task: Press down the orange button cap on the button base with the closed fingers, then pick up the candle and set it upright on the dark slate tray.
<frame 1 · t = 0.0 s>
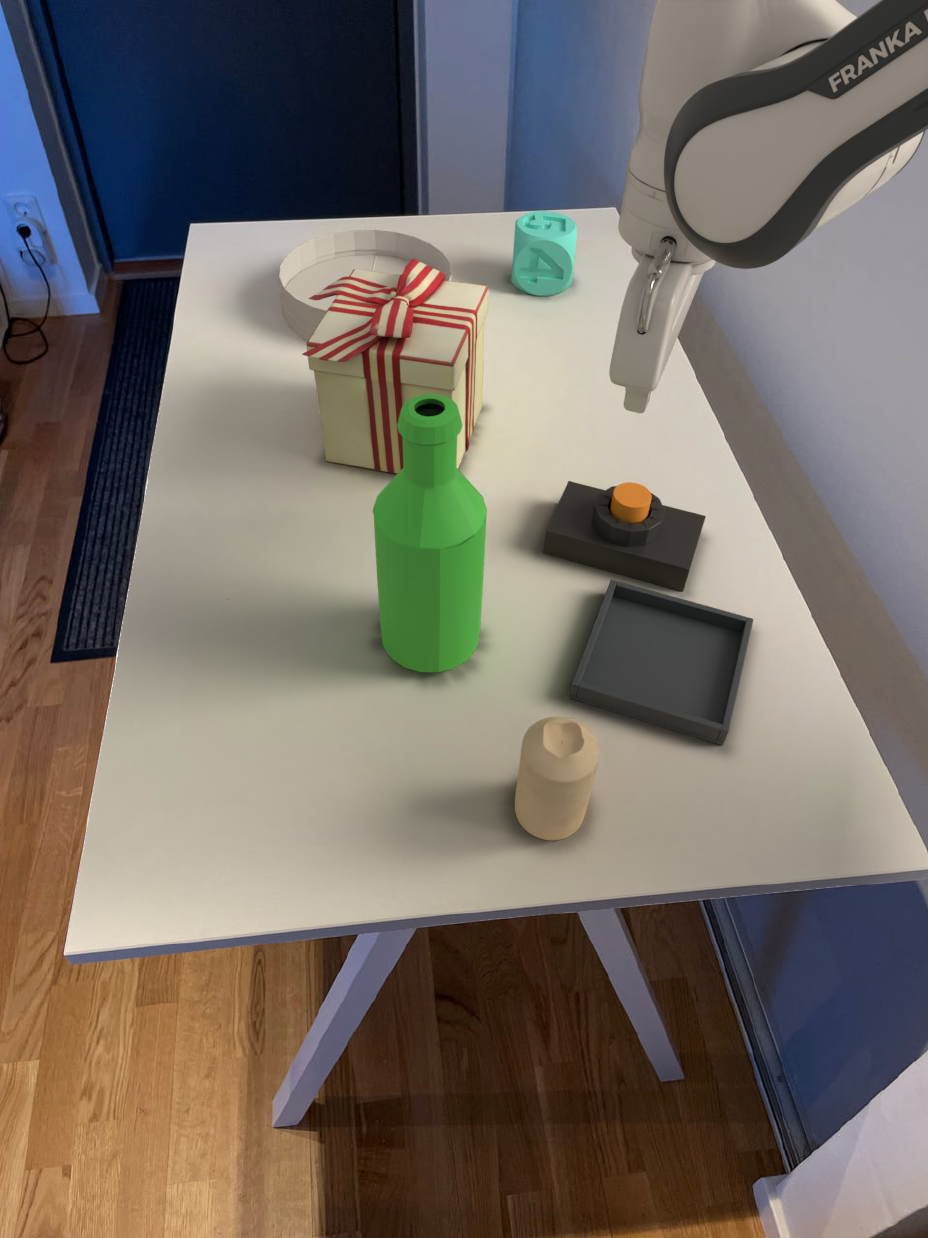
hand: (648, 375, 77), 19 cm above the table, tool pointing down, fingers open, 8 cm apart
dish: (367, 307, 120), on the table
gift box: (392, 437, 102), on the table
soap tray: (661, 664, 81), on the table
bottle: (430, 641, 83), on the table
button base: (621, 545, 91), on the table
decorative dice: (540, 282, 126), on the table
orange button cap: (630, 502, 87), point 6 cm above the table, slide at 0.1 cm
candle: (549, 810, 71), on the table
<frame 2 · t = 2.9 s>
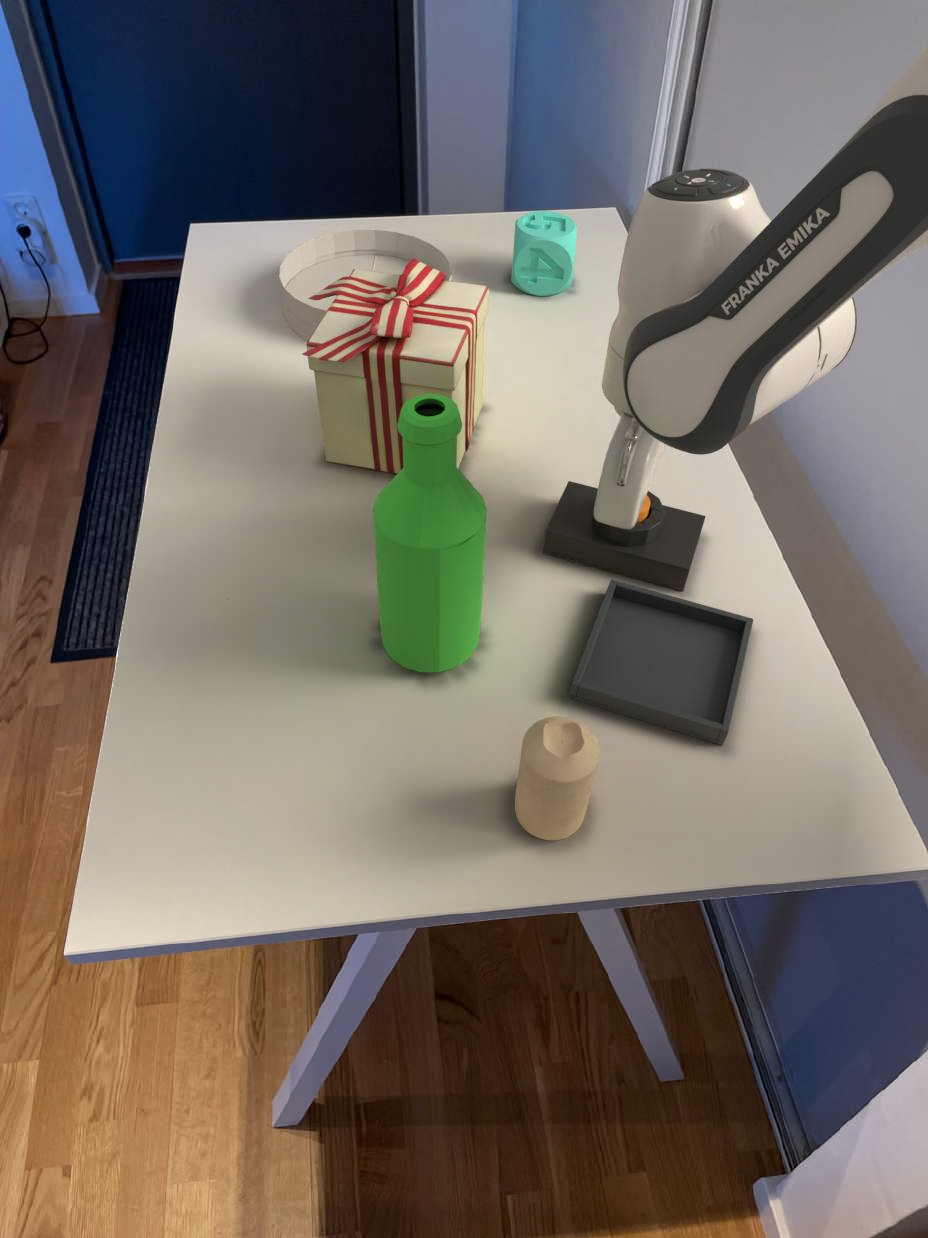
hand: (630, 499, 87), 6 cm above the table, tool pointing down, fingers closed, pressing on orange button cap
orange button cap: (629, 508, 88), point 5 cm above the table, slide at -0.7 cm, touching gripper
everything else where it was.
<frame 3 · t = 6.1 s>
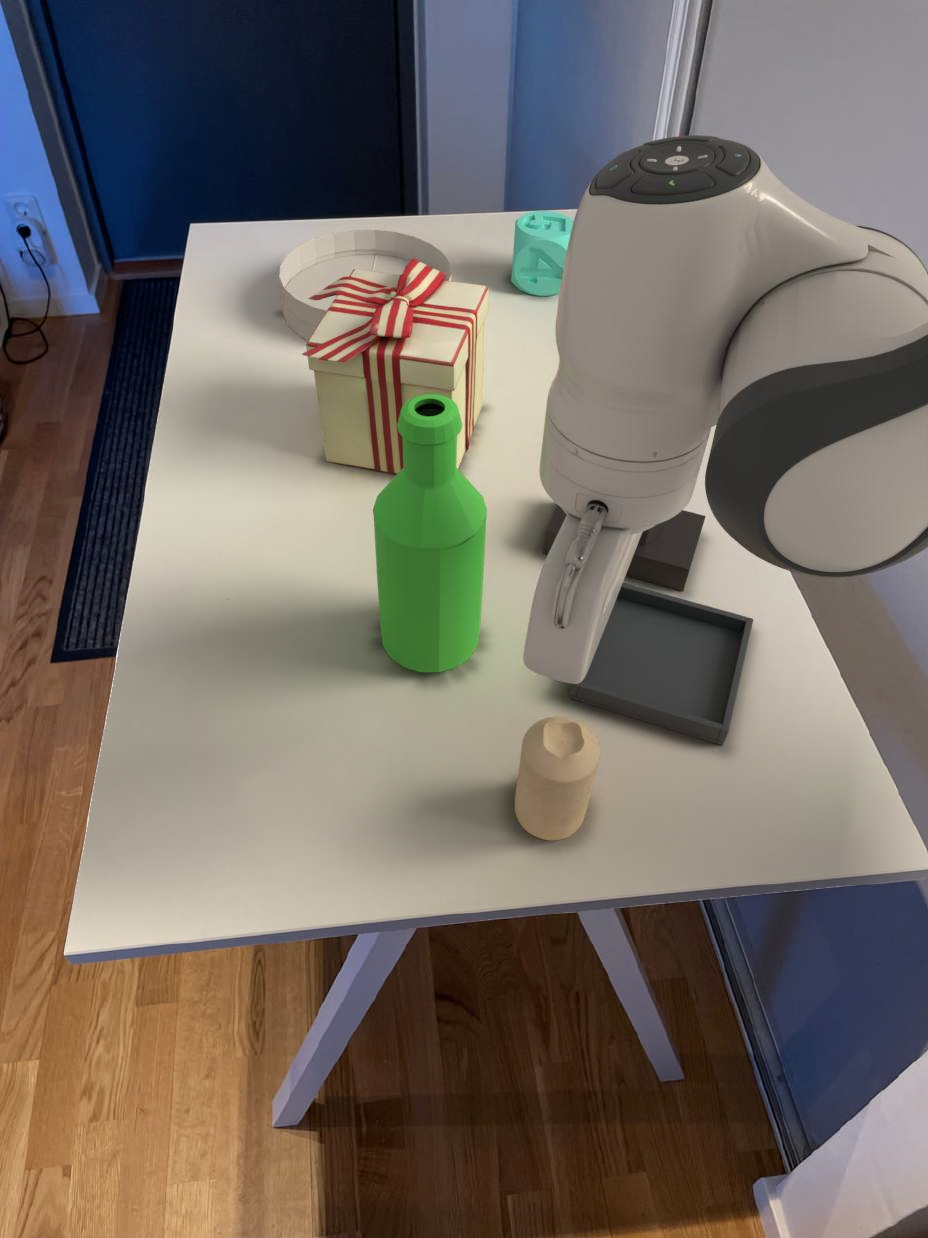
hand: (588, 618, 62), 17 cm above the table, tool pointing down, fingers closed
orange button cap: (630, 502, 87), point 6 cm above the table, slide at 0.1 cm
everything else where it was.
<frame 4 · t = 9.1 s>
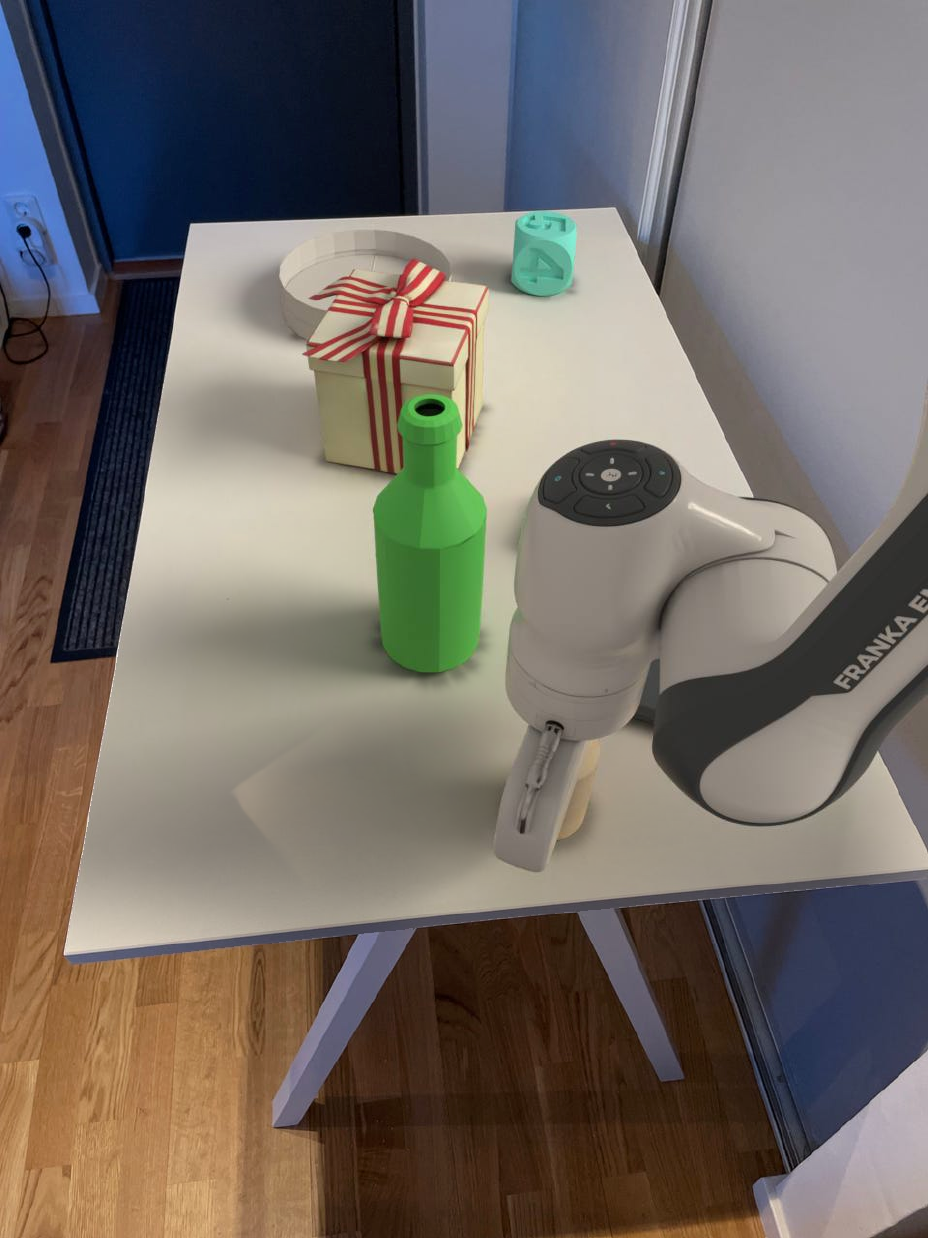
hand: (554, 784, 69), 4 cm above the table, tool pointing down, fingers closed on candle, 5 cm apart
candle: (549, 810, 71), on the table, touching gripper
everything else where it was.
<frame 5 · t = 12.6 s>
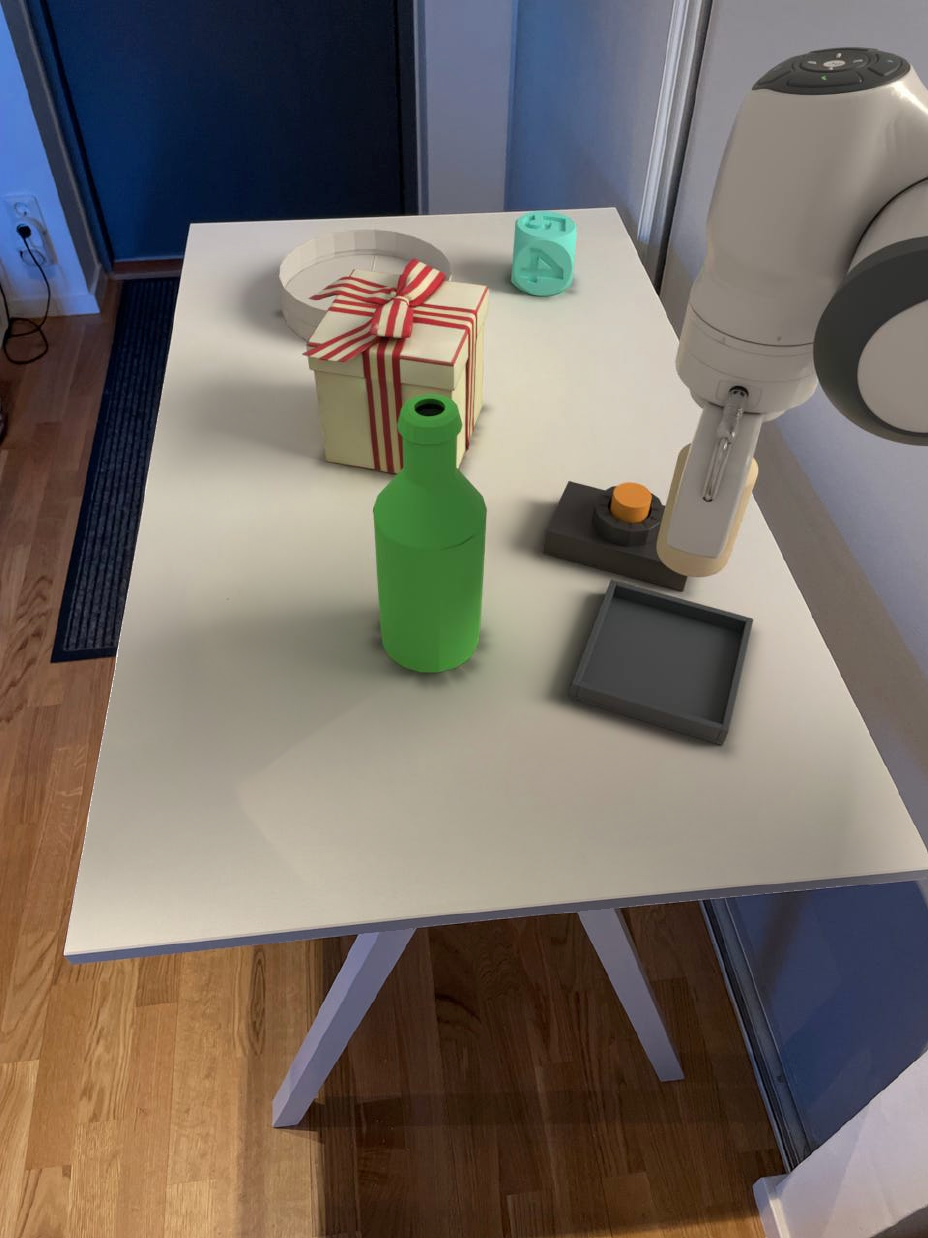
hand: (703, 516, 67), 18 cm above the table, tool pointing down, fingers closed on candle, 5 cm apart
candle: (691, 554, 70), point 14 cm above the table, touching gripper
everything else where it was.
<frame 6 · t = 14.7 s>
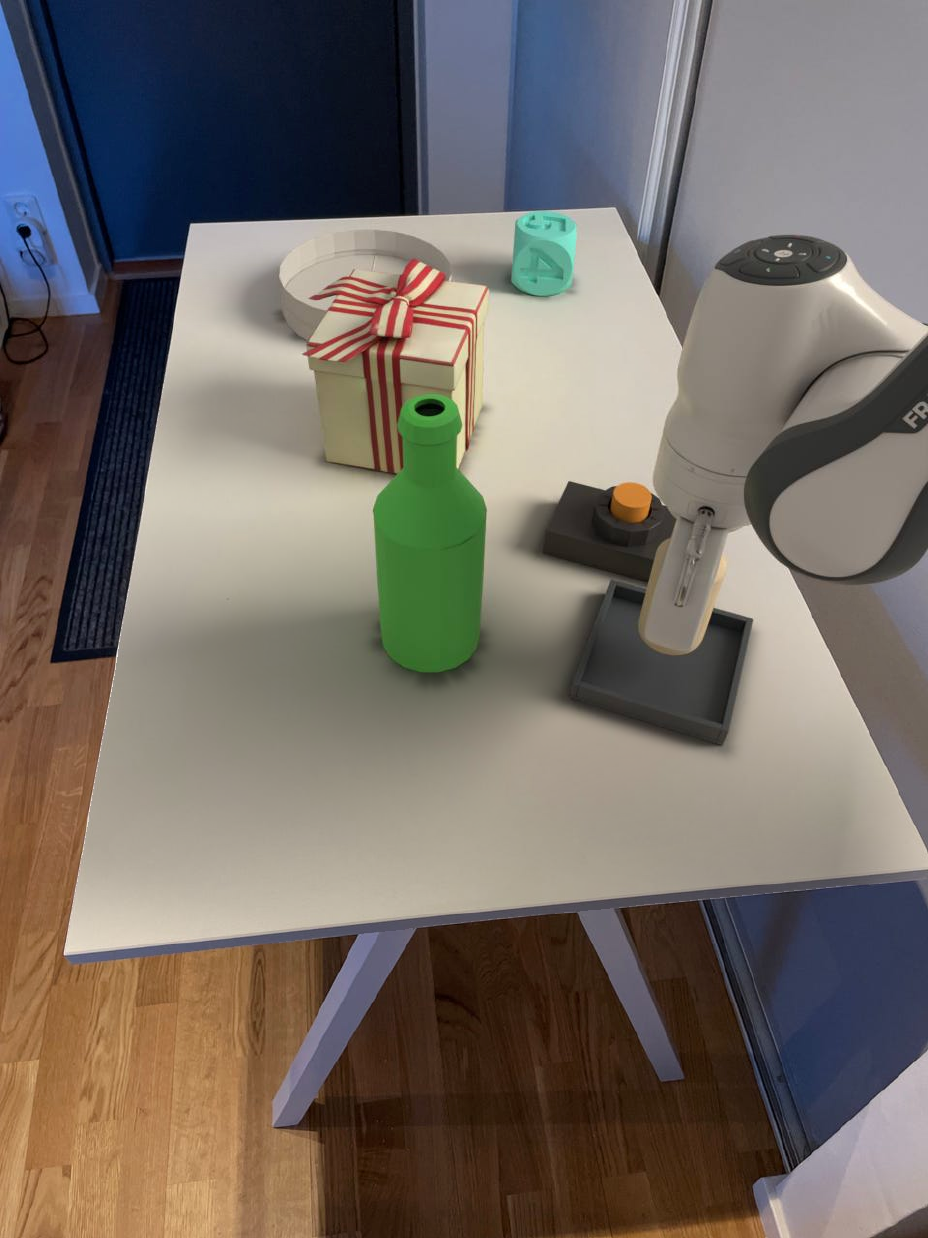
hand: (679, 601, 75), 8 cm above the table, tool pointing down, fingers closed on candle, 5 cm apart
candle: (669, 632, 78), point 4 cm above the table, touching gripper
everything else where it was.
when the fingers open (4 cm above the table, at t = 16.2 s): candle stays where it is, resting on soap tray.
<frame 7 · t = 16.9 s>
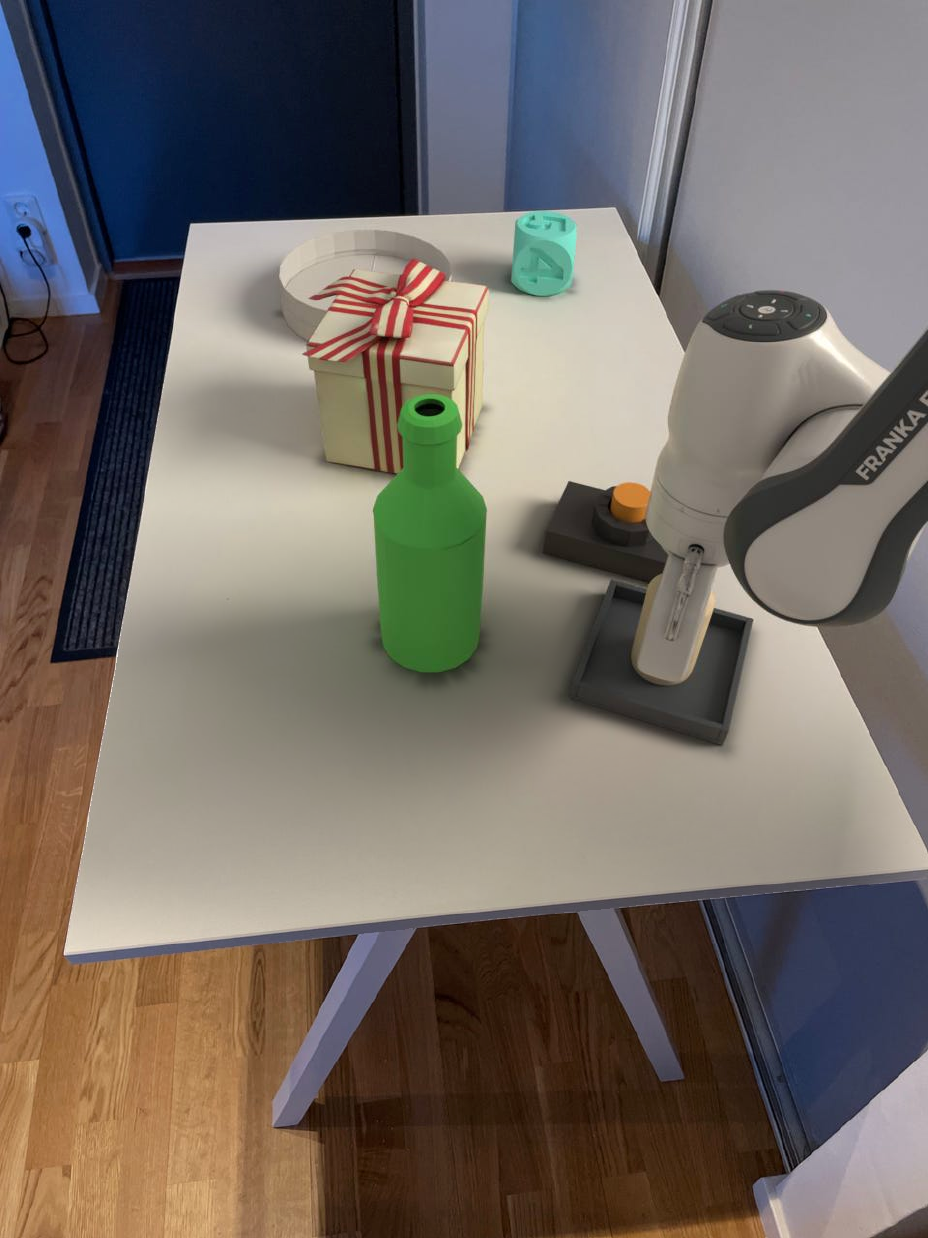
hand: (672, 630, 78), 5 cm above the table, tool pointing down, fingers open, 8 cm apart
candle: (661, 663, 81), resting on soap tray
everything else where it was.
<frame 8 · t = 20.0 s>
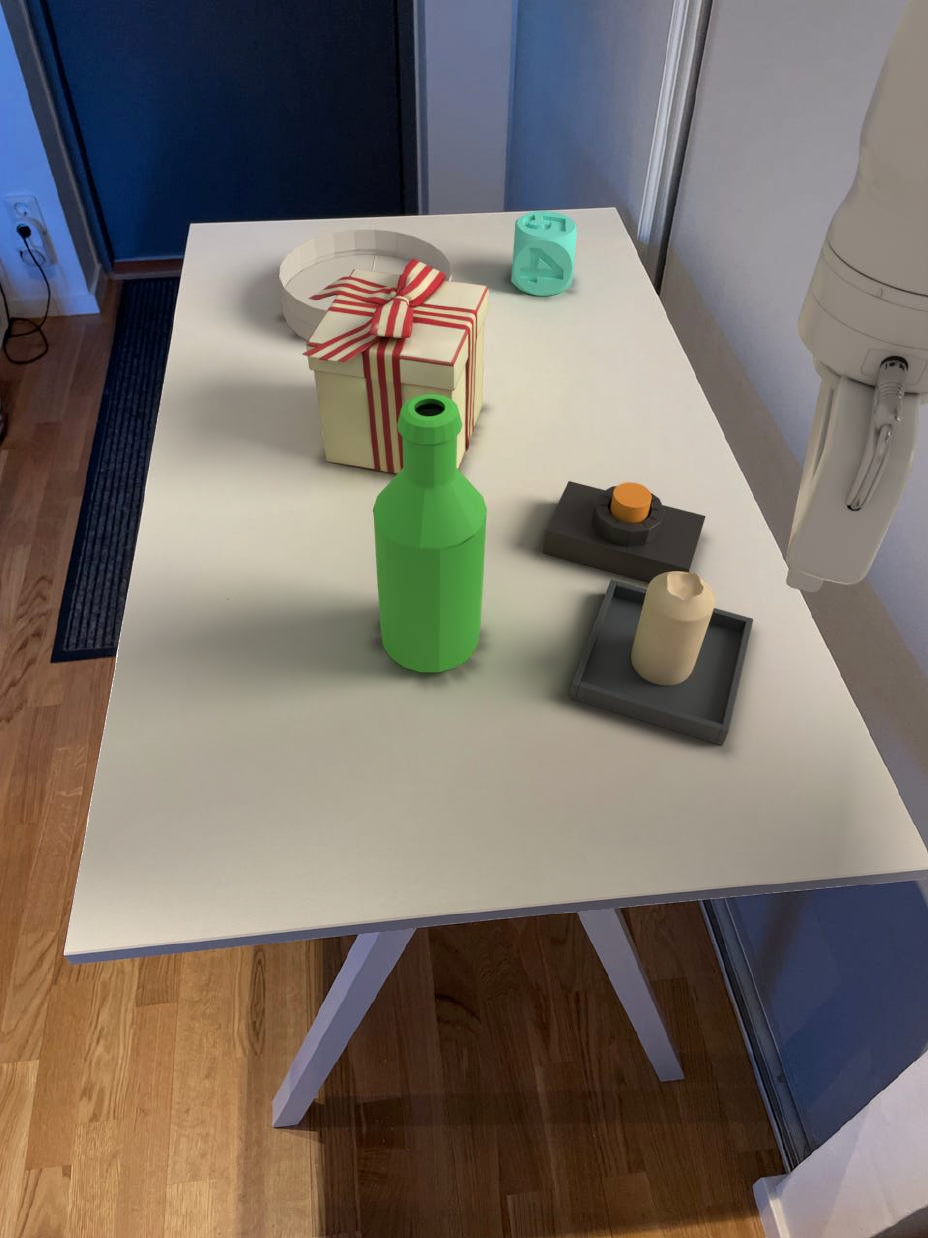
hand: (811, 527, 53), 27 cm above the table, tool pointing down, fingers open, 8 cm apart
nothing on the table moved.
at the end: orange button cap pushed in 1.2 cm at the most during the clip, back to where it started at the end; orange button cap slide at 0.1 cm; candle inside the target area in the soap tray (0.1 cm from its centre), point 0.3 cm above the soap tray's base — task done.
